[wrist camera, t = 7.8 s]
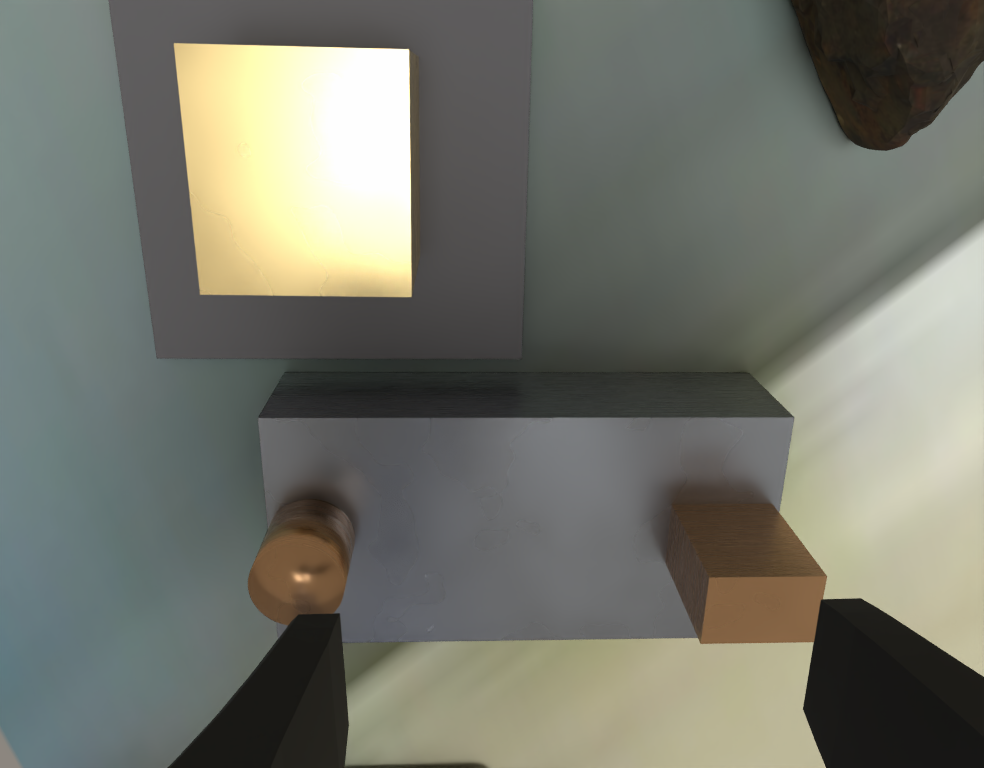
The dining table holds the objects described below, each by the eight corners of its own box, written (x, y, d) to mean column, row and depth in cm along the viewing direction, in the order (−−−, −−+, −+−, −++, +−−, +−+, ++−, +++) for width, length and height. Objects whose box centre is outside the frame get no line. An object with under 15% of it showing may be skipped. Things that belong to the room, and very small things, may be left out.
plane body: (722, 569, 23) (808, 725, 18) (300, 573, 23) (249, 736, 17) (749, 373, 21) (856, 478, 15) (284, 372, 21) (221, 480, 15)
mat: (520, 354, 21) (521, 359, 20) (162, 353, 20) (156, 358, 20) (532, -41, 18) (534, -43, 17) (108, -51, 17) (101, -54, 17)
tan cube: (418, 56, 18) (408, 50, 14) (420, 255, 19) (411, 297, 16) (234, 51, 18) (173, 42, 14) (250, 253, 19) (200, 294, 15)
